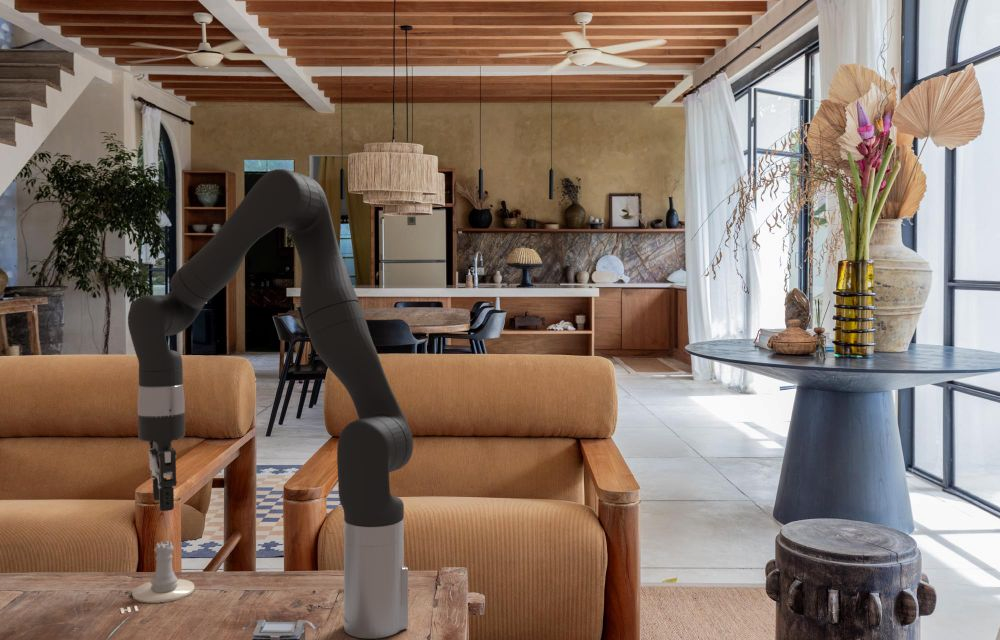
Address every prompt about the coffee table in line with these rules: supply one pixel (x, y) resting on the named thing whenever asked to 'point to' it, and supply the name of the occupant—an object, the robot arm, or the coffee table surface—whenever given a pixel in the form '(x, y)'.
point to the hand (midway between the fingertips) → (163, 504)
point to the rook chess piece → (164, 569)
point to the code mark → (128, 609)
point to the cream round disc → (148, 596)
